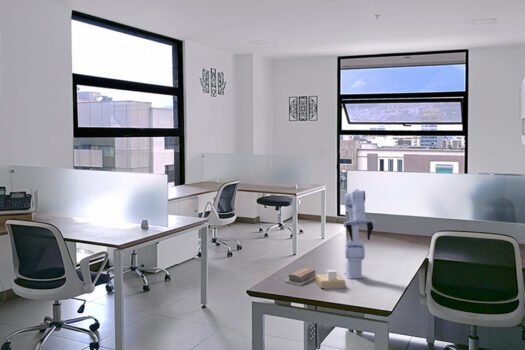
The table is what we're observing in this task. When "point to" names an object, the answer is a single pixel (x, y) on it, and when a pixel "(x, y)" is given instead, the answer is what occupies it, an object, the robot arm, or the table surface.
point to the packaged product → (301, 276)
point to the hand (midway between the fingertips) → (360, 239)
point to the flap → (331, 277)
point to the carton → (329, 284)
